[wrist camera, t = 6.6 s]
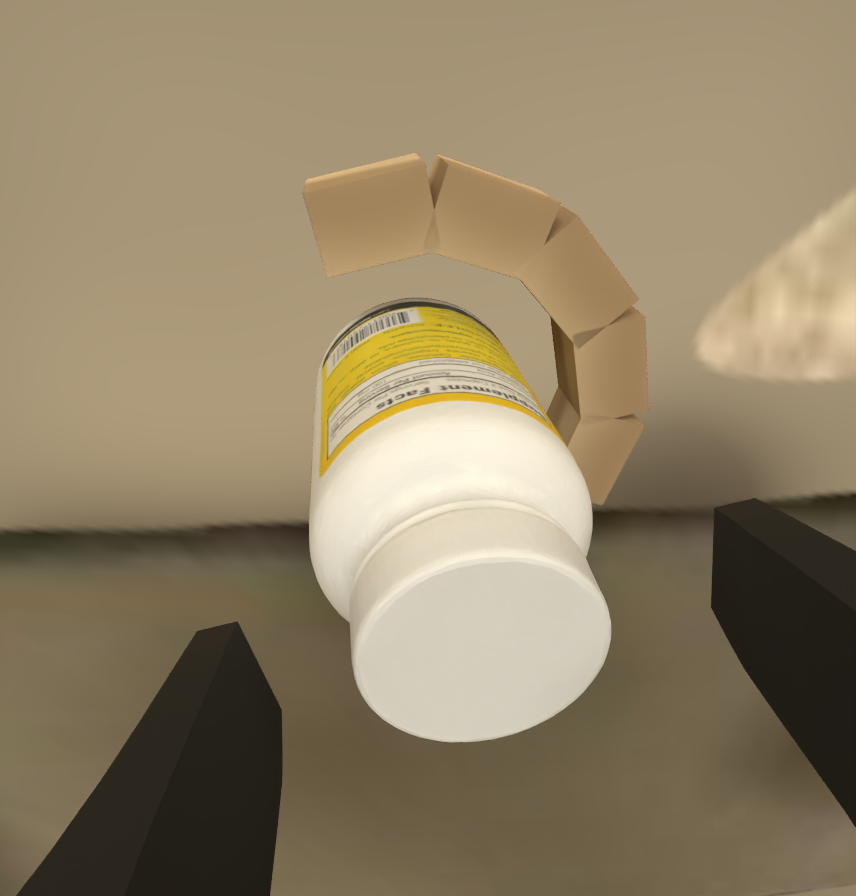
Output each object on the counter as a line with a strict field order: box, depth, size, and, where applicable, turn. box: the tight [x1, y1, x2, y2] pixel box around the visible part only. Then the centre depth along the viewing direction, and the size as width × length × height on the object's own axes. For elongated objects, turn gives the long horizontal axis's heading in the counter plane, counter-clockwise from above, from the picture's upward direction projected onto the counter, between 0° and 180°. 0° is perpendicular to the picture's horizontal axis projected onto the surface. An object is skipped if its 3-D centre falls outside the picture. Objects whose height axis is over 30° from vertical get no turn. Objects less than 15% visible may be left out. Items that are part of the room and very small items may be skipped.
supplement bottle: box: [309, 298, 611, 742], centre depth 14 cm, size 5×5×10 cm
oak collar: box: [303, 153, 649, 505], centre depth 17 cm, size 7×12×2 cm, turn 12°
